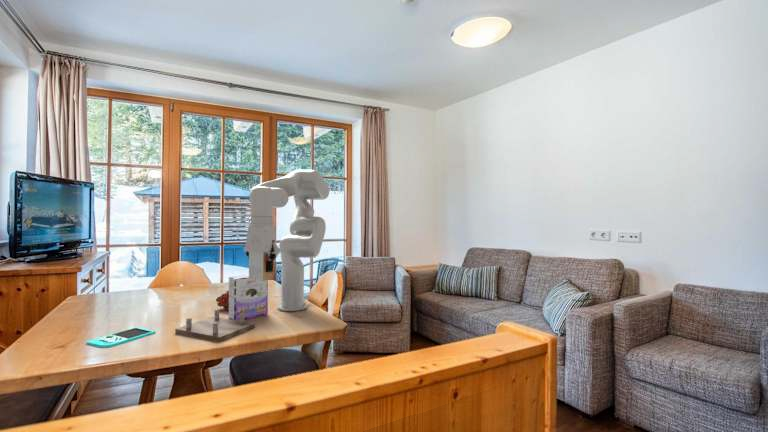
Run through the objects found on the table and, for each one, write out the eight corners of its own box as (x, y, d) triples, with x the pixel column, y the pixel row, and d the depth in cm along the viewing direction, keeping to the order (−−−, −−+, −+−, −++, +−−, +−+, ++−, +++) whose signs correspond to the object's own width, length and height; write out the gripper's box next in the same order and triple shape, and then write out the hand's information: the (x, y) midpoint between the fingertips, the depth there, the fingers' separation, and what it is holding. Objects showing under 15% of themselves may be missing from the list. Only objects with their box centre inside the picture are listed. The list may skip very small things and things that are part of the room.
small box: (263, 281, 129) (263, 251, 128) (248, 281, 129) (248, 251, 129) (273, 277, 136) (274, 249, 136) (259, 277, 137) (259, 248, 137)
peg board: (213, 320, 141) (213, 307, 141) (254, 327, 133) (254, 313, 133) (175, 333, 126) (175, 318, 126) (219, 341, 118) (219, 326, 118)
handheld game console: (85, 345, 116) (85, 340, 115) (137, 330, 130) (137, 326, 130) (105, 350, 112) (105, 345, 111) (156, 334, 126) (156, 330, 126)
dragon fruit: (242, 314, 155) (217, 316, 158) (250, 298, 162) (225, 300, 164) (233, 300, 151) (207, 303, 153) (241, 285, 157) (216, 287, 160)
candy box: (261, 311, 154) (261, 272, 154) (268, 314, 150) (268, 274, 150) (227, 318, 144) (228, 276, 144) (234, 321, 140) (234, 278, 140)
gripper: (235, 220, 132) (234, 270, 132) (275, 222, 126) (274, 274, 126) (249, 220, 139) (248, 268, 139) (288, 221, 133) (287, 271, 133)
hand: (261, 270), depth 133 cm, fingers closed on small box, 6 cm apart
